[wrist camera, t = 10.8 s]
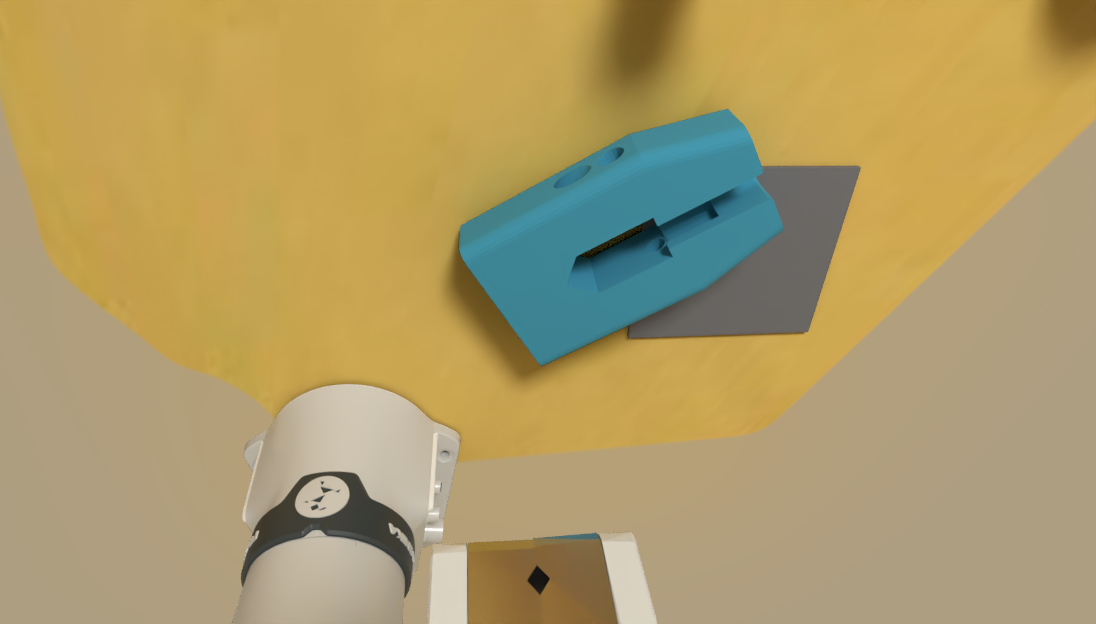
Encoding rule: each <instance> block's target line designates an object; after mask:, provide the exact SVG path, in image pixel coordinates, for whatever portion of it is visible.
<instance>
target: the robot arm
mask: <svg viewBox="0 0 1096 624" xmlns="http://www.w3.org/2000/svg"><path fill="white" fill-rule="evenodd" d="M460 441H461V438H460V435H459V434H458V433H457V432H456V431H454V430H452V429H450V428H448V427H446V426H443V425H441V424H438V423H436V422H434V421H432V420H431V419H429V418H428V417H427V416H426V415H425V414H424V413H423V412H422V411H421V410H420V409H419V408H417V407H416V406H415V405H414V404H412V403H411V402H409V401H408V400H406V399H405V398H403V397H401V396H399V395H397V394H395V393H392V392H390V391H387V390H384V389H380V388H377V387H372V386H366V385H357V384H341V385H331V386H326V387H321V388H317V389H314V390H311V391H309V392H306V393H304V394H302V395H300V396H298V397H296V398H295V399H293V400H292V401H291V402H289V403H288V404H287V405H286V406H285V407H284V408H283V409H282V410H281V411H280V412H279V414H278V415H277V417H276V418H275V420H274V421H273V423H272V424H271V426H270V427H269V428H268V429H267V430H266V431H264V432H262V433H260V434H258V435H257V436H255V437H254V438H252V439H251V440H249V441H248V442H247V444H246V446H245V450H244V458H245V460H246V462H247V463H248V465H249V467H250V468H251V470H252V471H253V475H252V478H251V482H250V486H249V490H248V494H247V497H246V501H245V506H244V510H243V516H242V517H243V521H244V522H246V523H247V526H248V528H249V530H250V531H251V532H252V533H253V535H252V538H251V540H250V541H249V543H248V546H247V549H246V552H245V556H244V561H243V562H244V563H243V569H242V573H241V582H242V586H243V589H242V592H241V595H240V599H239V602H238V605H237V608H236V612H235V615H234V618H233V621H232V624H403V607H404V598H405V597H406V595H407V593H408V591H409V588H410V584H411V581H412V578H413V574H414V573H415V572H416V571H417V569H418V563H419V559H420V554H421V549H422V548H424V547H427V546H429V545H431V544H433V543H438V545H433V549H432V553H431V561H430V581H429V600H428V618H427V624H657V620H656V616H655V612H654V608H653V605H652V601H651V597H650V594H649V589H648V586H647V582H646V578H645V574H644V570H643V567H642V563H641V559H640V555H639V551H638V548H637V544H636V540H635V537H634V536H633V535H632V533H631V532H628V531H627V532H617V533H605V534H597V533H592V534H580V535H567V536H557V537H544V538H534V539H533V540H515V541H494V542H474V543H468V544H467V543H454V544H439V543H441V541H442V534H443V521H444V516H445V511H446V507H447V503H448V498H449V493H450V488H451V484H452V480H453V475H454V471H455V466H456V461H457V457H458V452H459V447H460ZM443 451H447V452H443Z"/></svg>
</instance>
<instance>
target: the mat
mask: <svg viewBox="0 0 1096 624" xmlns="http://www.w3.org/2000/svg"><path fill="white" fill-rule="evenodd" d="M762 169H763V173H762V174H761V175H759V176H757V177H756V178H757V180H758V182H759V183H760V185H761V186H762V187H763V188H764V190H765V191H766V192H767V193H768V194H769V195H770V197H771V198H772V199H773V200H774V202H775V205H776V208H777V210H778V213H779V216H780V219H781V221H782V224H783V228H784V230H783V231H782V232H781V233H779V234H778V235H777V236H775V237H774V238H773V239H771V240H770V241H769V242H767V243H766V244H765V245H763V246H762V247H761V248H759V249H758V250H757V251H755V252H754V253H753V254H751V255H750V256H749V257H747V258H746V259H745V260H743V261H742V262H741V263H739V264H738V265H737V266H735V267H734V268H733V269H731V270H730V271H729V272H727V273H726V274H725V275H723V276H722V277H721V278H719V279H718V280H717V281H715V282H714V283H713V284H711V285H710V286H709V287H707V288H706V289H705V290H703V291H701V292H699V293H696V294H694V295H692V296H690V297H688V298H686V299H684V300H682V301H679V302H677V303H675V304H673V305H671V306H669V307H667V308H665V309H662V310H660V311H658V312H656V313H654V314H652V315H650V316H648V317H645V318H643V319H641V320H639V321H637V322H635V323H633V324H631V325H629V329H628V338H646V337H675V336H704V335H733V334H762V333H791V332H808V330H809V327H810V324H811V321H812V318H813V315H814V312H815V309H816V305H817V302H818V299H819V296H820V293H821V290H822V287H823V284H824V281H825V277H826V274H827V271H828V268H829V265H830V262H831V259H832V256H833V253H834V250H835V246H836V243H837V240H838V237H839V234H840V231H841V228H842V225H843V222H844V219H845V215H846V212H847V209H848V206H849V203H850V200H851V197H852V194H853V191H854V187H855V184H856V181H857V178H858V175H859V172H860V169H861V168H860V167H859V166H762ZM654 225H656V222H655V220H654V218H652V219H650V220H648V221H646V222H644V223H642V230H641V232H642V231H645V230H647V229H649V228H650V227H652V226H654Z"/></svg>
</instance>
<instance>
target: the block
mask: <svg viewBox="0 0 1096 624" xmlns="http://www.w3.org/2000/svg"><path fill="white" fill-rule="evenodd" d="M762 173H763V169H762V166H761V163H760V160H759V158H758V155H757V152H756V149H755V147H754V144H753V141H752V139H751V137H750V135H749V133H748V131H747V129H746V128H745V126H744V125H743V124H742V123H741V122H740V121H739V120H738V119H737V118H736V117H735V116H734V115H733V114H732V113H731V112H730V111H729V110H728V109H725V110H721V111H718V112H714V113H710V114H706V115H702V116H698V117H694V118H691V119H687V120H683V121H679V122H675V123H671V124H667V125H664V126H660V127H656V128H652V129H648V130H644V131H640V132H636V133H633V134H629V135H627V136H625V137H624V138H622V139H620V140H618V141H616V142H614V143H612V144H611V145H609V146H607V147H605V148H603V149H601V150H600V151H598V152H596V153H594V154H592V155H590V156H588V157H587V158H585V159H583V160H581V161H579V162H577V163H576V164H574V165H572V166H570V167H568V168H566V169H564V170H563V171H561V172H559V173H557V174H555V175H553V176H551V177H550V178H548V179H546V180H544V181H542V182H540V183H539V184H537V185H535V186H533V187H531V188H529V189H527V190H526V191H524V192H522V193H520V194H518V195H516V196H515V197H513V198H511V199H509V200H507V201H505V202H503V203H502V204H500V205H498V206H496V207H494V208H492V209H491V210H489V211H487V212H485V213H483V214H481V215H479V216H478V217H476V218H474V219H472V220H470V221H468V222H467V223H465V224H463V225H461V228H460V241H459V251H460V254H461V256H462V259H463V260H464V262H465V264H466V265H467V267H468V268H469V269H470V271H471V272H472V273H473V275H474V276H475V278H476V279H477V280H478V282H479V283H480V284H481V286H482V287H483V288H484V290H485V291H486V293H487V294H488V295H489V297H490V298H491V299H492V301H493V302H494V303H495V305H496V306H497V308H498V309H499V310H500V312H501V313H502V314H503V316H504V317H505V318H506V320H507V321H508V323H509V324H510V325H511V327H512V328H513V329H514V331H515V332H516V333H517V335H518V336H519V338H520V339H521V340H522V342H523V343H524V344H525V346H526V347H527V348H528V350H529V351H530V353H531V354H532V355H533V357H534V358H535V359H536V361H537V362H538V363H539V364H540V365H541V366H543V365H545V364H548V363H550V362H552V361H554V360H556V359H558V358H560V357H562V356H565V355H567V354H569V353H571V352H573V351H575V350H577V349H579V348H582V347H584V346H586V345H588V344H590V343H592V342H594V341H596V340H599V339H601V338H603V337H605V336H607V335H609V334H611V333H613V332H616V331H618V330H620V329H622V328H624V327H626V326H628V325H631V324H633V323H635V322H637V321H639V320H641V319H643V318H645V317H648V316H650V315H652V314H654V313H656V312H658V311H660V310H662V309H665V308H667V307H669V306H671V305H673V304H675V303H677V302H679V301H682V300H684V299H686V298H688V297H690V296H692V295H694V294H696V293H699V292H701V291H703V290H705V289H706V288H707V287H709V286H710V285H711V284H713V283H714V282H715V281H717V280H718V279H719V278H721V277H722V276H723V275H725V274H726V273H727V272H729V271H730V270H731V269H733V268H734V267H735V266H737V265H738V264H739V263H741V262H742V261H743V260H745V259H746V258H747V257H749V256H750V255H751V254H753V253H754V252H755V251H757V250H758V249H759V248H761V247H762V246H763V245H765V244H766V243H767V242H769V241H770V240H771V239H773V238H774V237H775V236H777V235H778V234H779V233H781V232H782V231H783V230H784V228H783V224H782V221H781V219H780V216H779V213H778V210H777V208H776V205H775V202H774V200H773V199H772V198H771V197H770V195H769V194H768V193H767V192H766V191H765V190H764V188H763V187H762V186H761V185H760V183H759V182H758V180H757V178H756V177H757V176H759V175H761V174H762ZM652 218H654V220H655V222H656V225H654V226H652V227H650V228H649V229H647V230H645V231H642V232H640V233H638V234H636V235H634V236H632V237H630V238H628V239H626V240H624V241H622V242H620V243H618V244H616V245H614V246H613V247H611V248H609V249H607V250H605V251H603V252H601V253H599V254H597V255H595V256H593V257H591V258H587V257H582V256H578V255H580V254H582V253H584V252H586V251H588V250H590V249H592V248H594V247H596V246H598V245H600V244H602V243H604V242H606V241H608V240H610V239H612V238H614V237H616V236H618V235H620V234H622V233H624V232H626V231H628V230H630V229H632V228H634V227H636V226H638V225H640V224H642V223H644V222H646V221H648V220H650V219H652Z"/></svg>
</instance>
